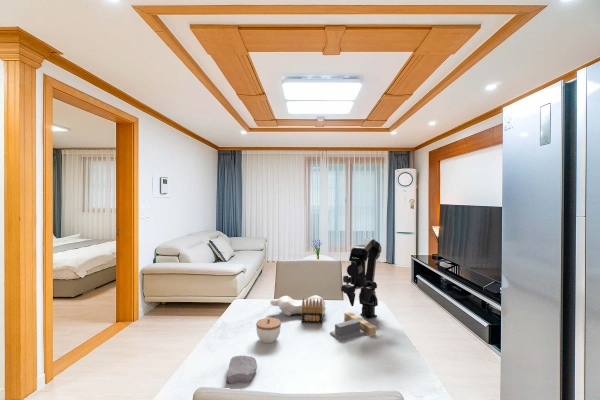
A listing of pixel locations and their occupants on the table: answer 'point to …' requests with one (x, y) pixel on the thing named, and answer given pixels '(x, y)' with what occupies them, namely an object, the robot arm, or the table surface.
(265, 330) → the lidded jar
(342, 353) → the table surface
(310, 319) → the ammunition clip
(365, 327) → the beam
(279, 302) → the torso sculpture
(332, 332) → the grey stepped block
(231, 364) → the stone block
